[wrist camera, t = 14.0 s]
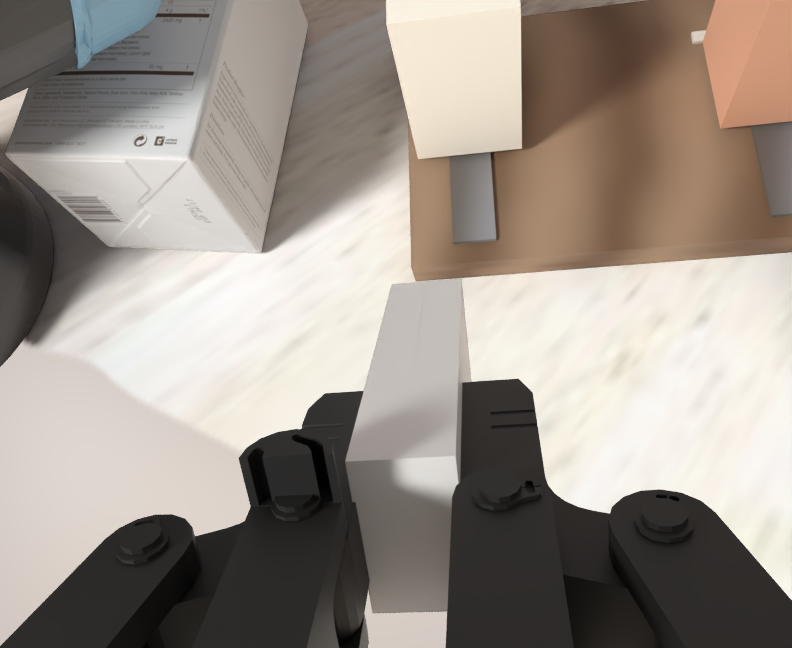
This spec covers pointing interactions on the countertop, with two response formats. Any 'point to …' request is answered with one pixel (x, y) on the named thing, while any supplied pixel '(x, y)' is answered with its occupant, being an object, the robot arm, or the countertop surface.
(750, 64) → the tall salmon pillar
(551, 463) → the countertop surface
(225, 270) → the countertop surface
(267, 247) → the countertop surface
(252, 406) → the countertop surface
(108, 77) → the supplement box
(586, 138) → the walnut track board
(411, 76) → the tall white pillar
